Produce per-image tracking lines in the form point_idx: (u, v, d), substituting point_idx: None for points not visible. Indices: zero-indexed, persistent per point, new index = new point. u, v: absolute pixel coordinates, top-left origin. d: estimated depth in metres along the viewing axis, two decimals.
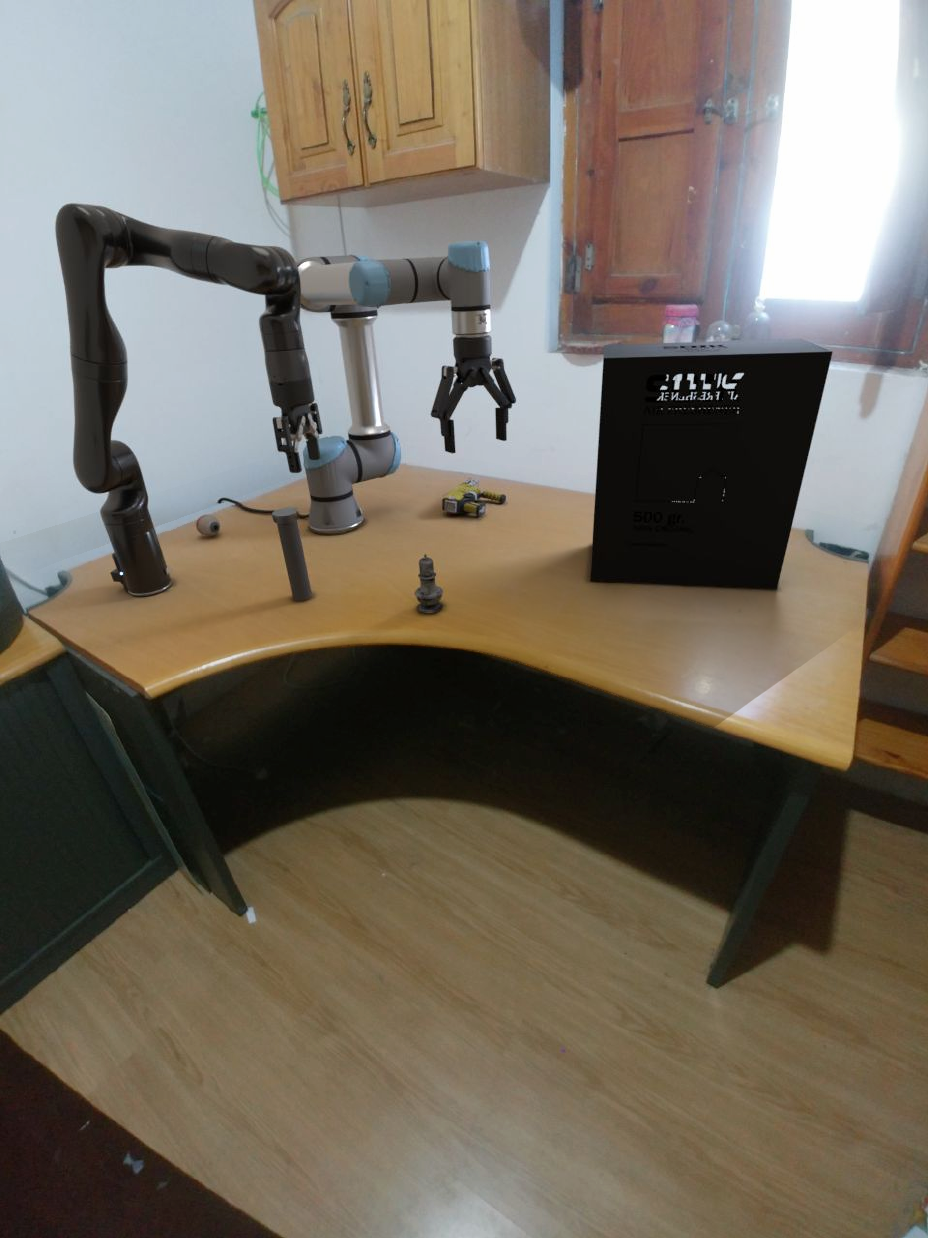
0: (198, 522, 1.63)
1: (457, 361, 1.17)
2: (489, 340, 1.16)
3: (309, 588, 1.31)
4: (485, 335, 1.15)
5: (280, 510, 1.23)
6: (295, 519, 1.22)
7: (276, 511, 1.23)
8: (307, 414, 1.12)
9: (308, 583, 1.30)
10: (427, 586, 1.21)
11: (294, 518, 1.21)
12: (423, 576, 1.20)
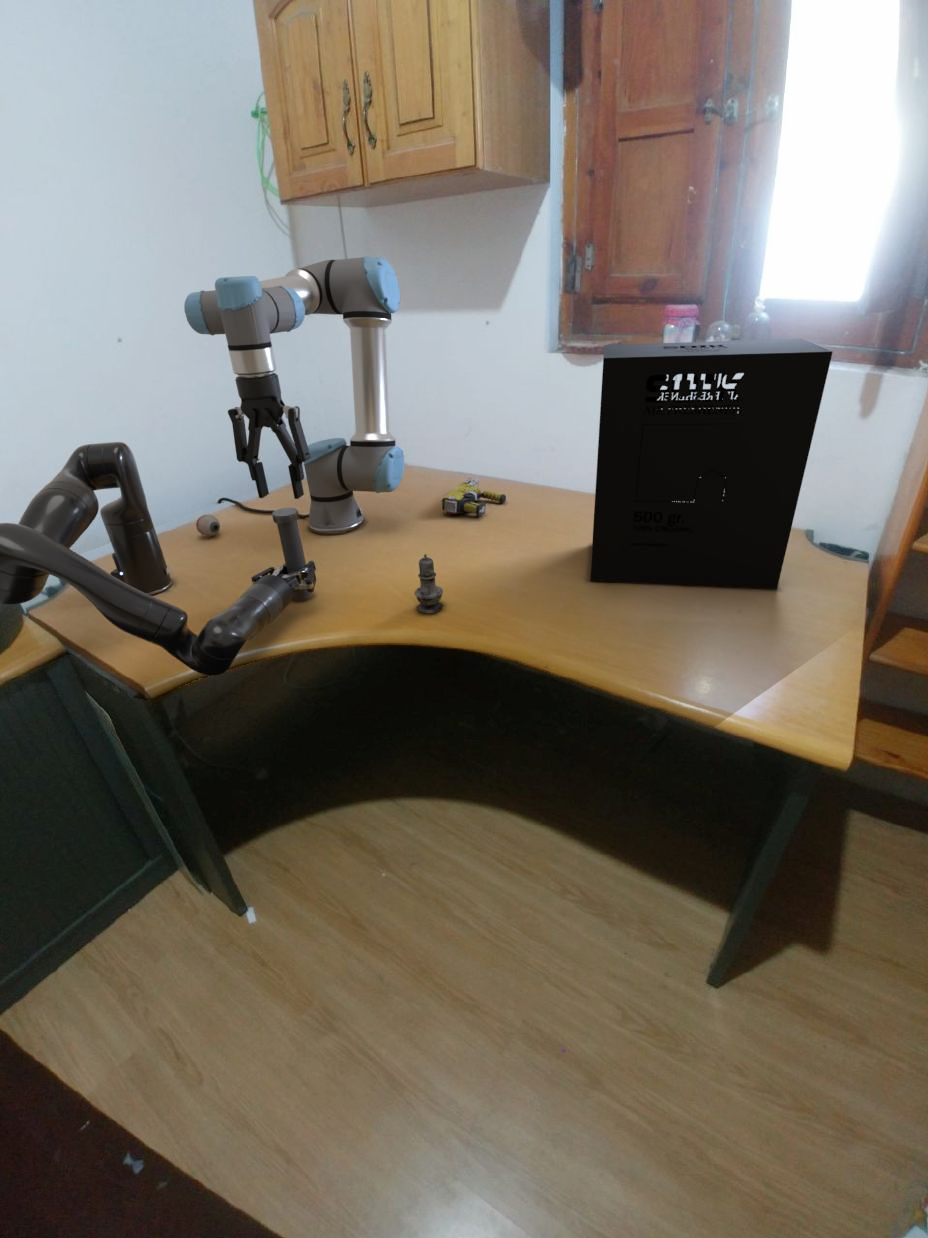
0: (198, 522, 1.63)
1: (279, 398, 1.11)
2: None
3: None
4: None
5: (280, 510, 1.23)
6: (295, 519, 1.22)
7: (276, 511, 1.23)
8: None
9: None
10: (427, 586, 1.21)
11: (294, 518, 1.21)
12: (423, 576, 1.20)
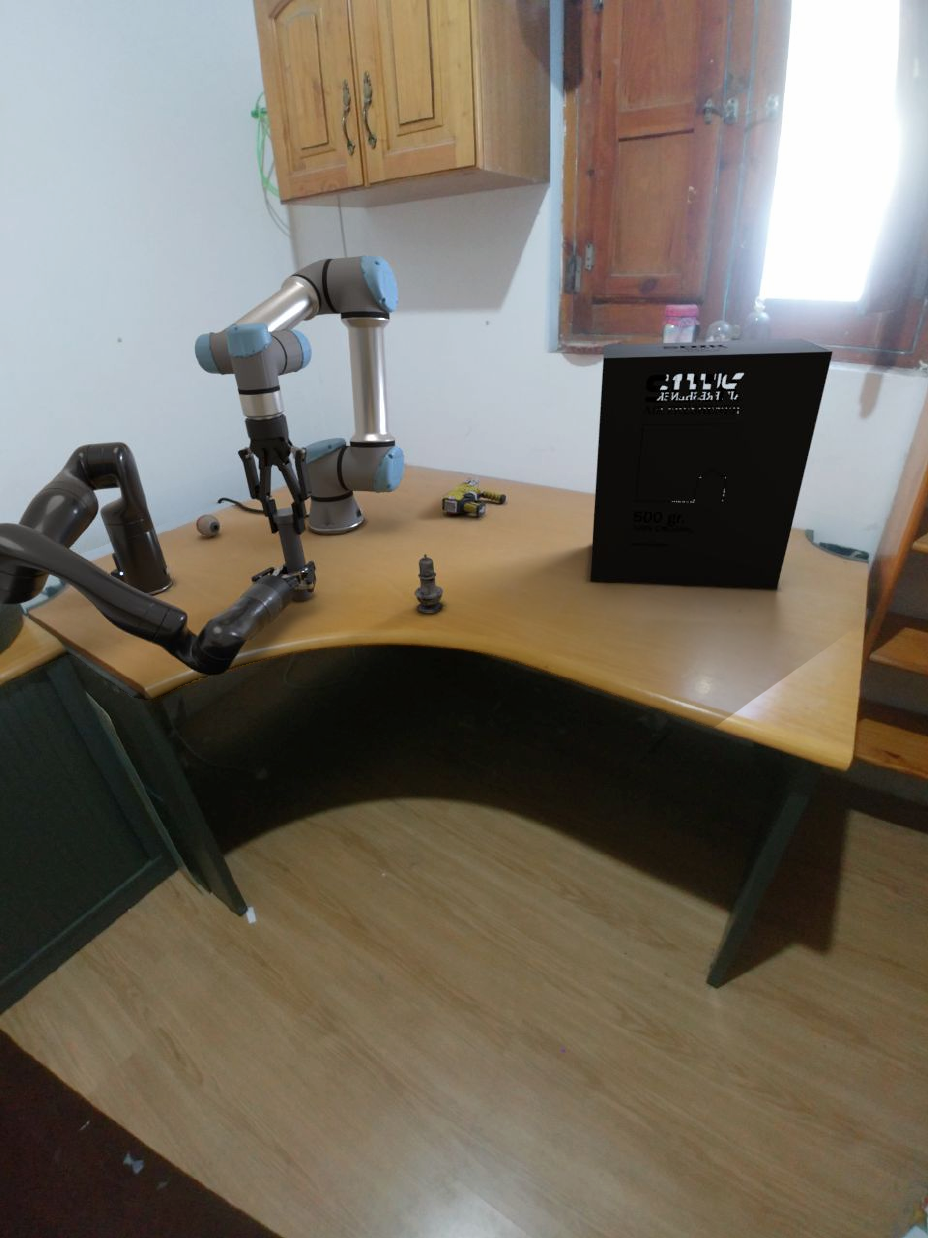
0: (198, 522, 1.63)
1: (287, 438, 1.14)
2: None
3: None
4: None
5: (280, 510, 1.23)
6: None
7: (276, 511, 1.23)
8: None
9: None
10: (427, 586, 1.21)
11: None
12: (423, 576, 1.20)
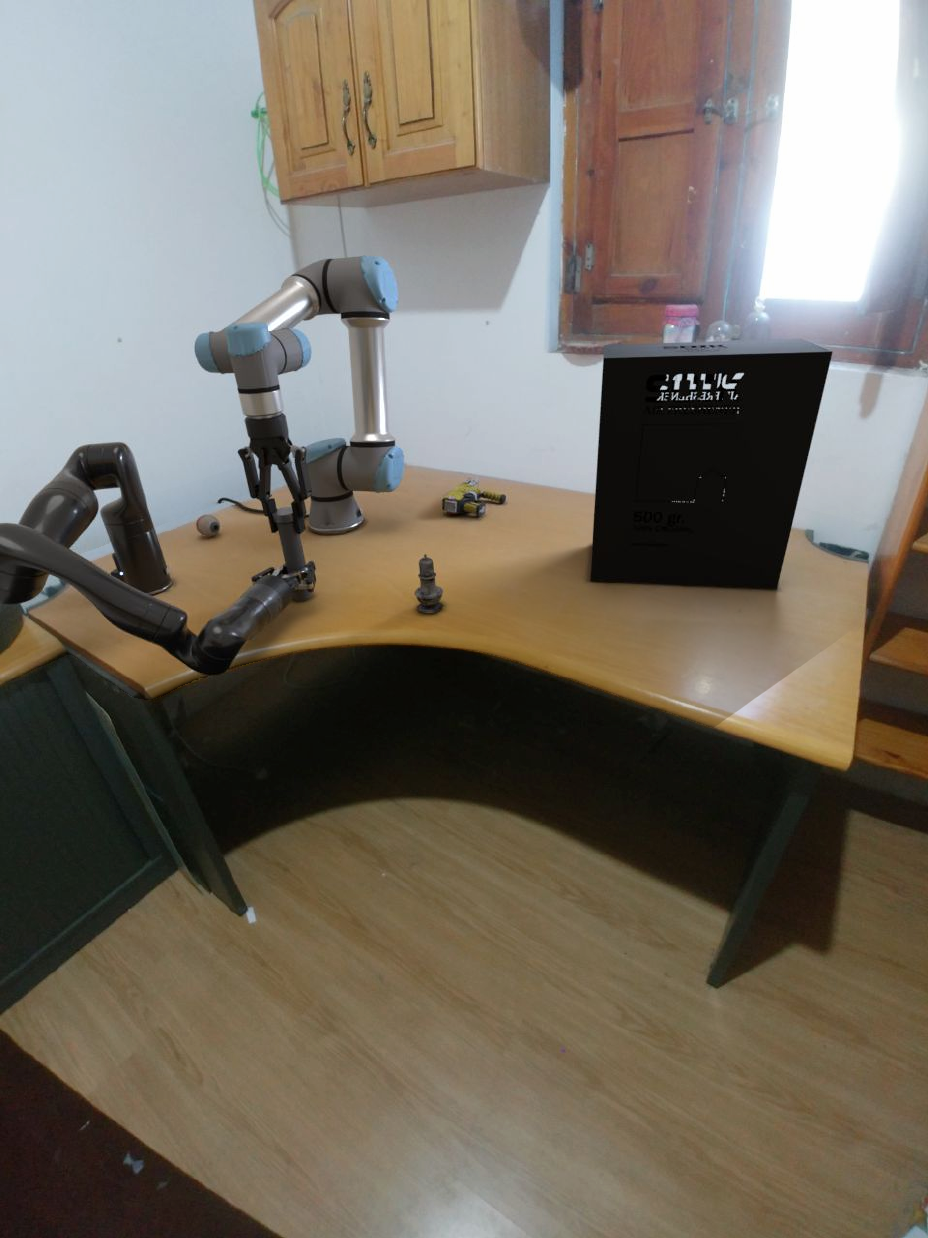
0: (198, 522, 1.63)
1: (287, 437, 1.14)
2: None
3: None
4: None
5: (280, 513, 1.21)
6: None
7: (282, 514, 1.21)
8: None
9: None
10: (427, 586, 1.21)
11: None
12: (423, 576, 1.20)
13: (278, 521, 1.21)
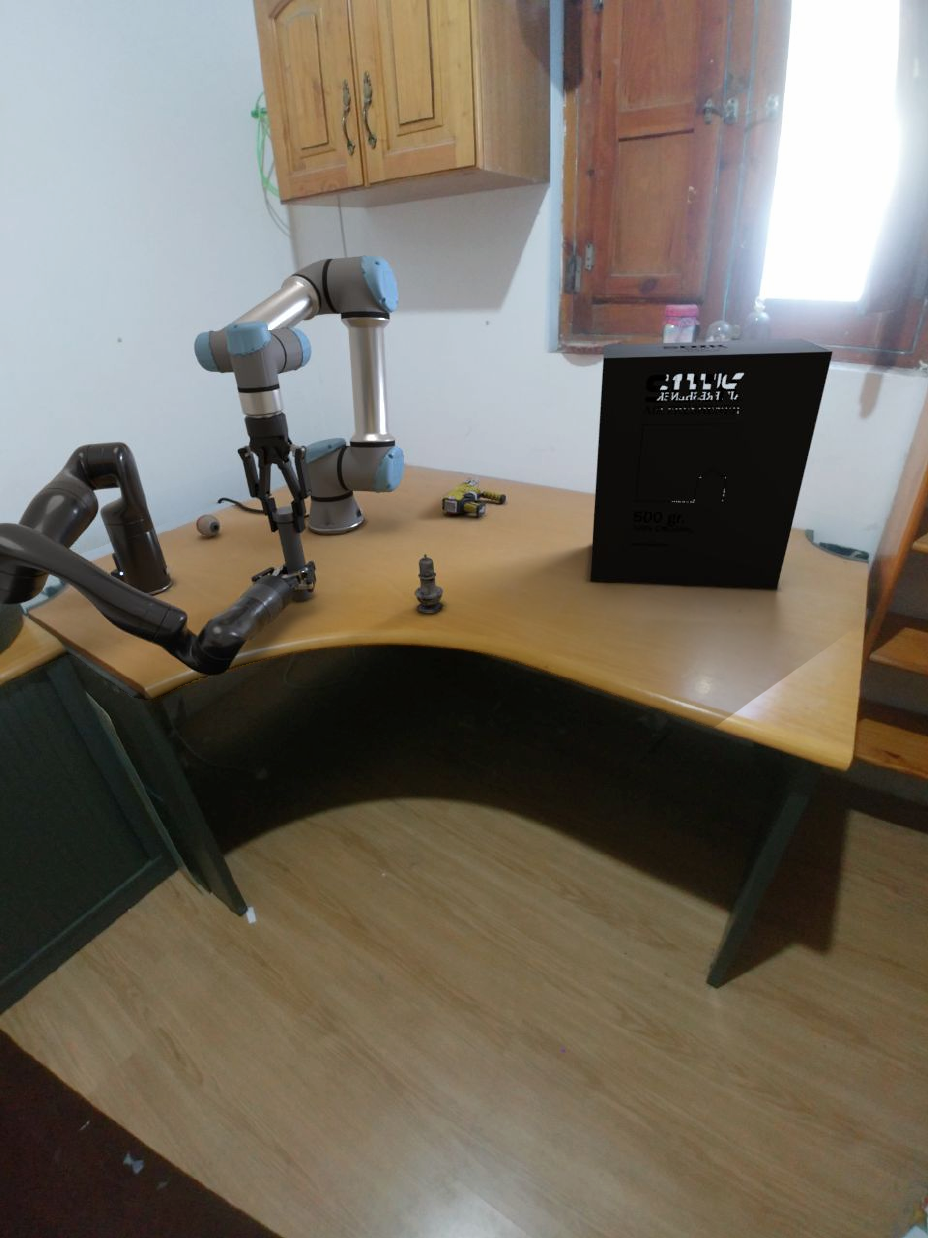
0: (198, 522, 1.63)
1: (287, 437, 1.14)
2: None
3: None
4: None
5: (291, 510, 1.22)
6: None
7: None
8: None
9: None
10: (427, 586, 1.21)
11: None
12: (423, 576, 1.20)
13: None
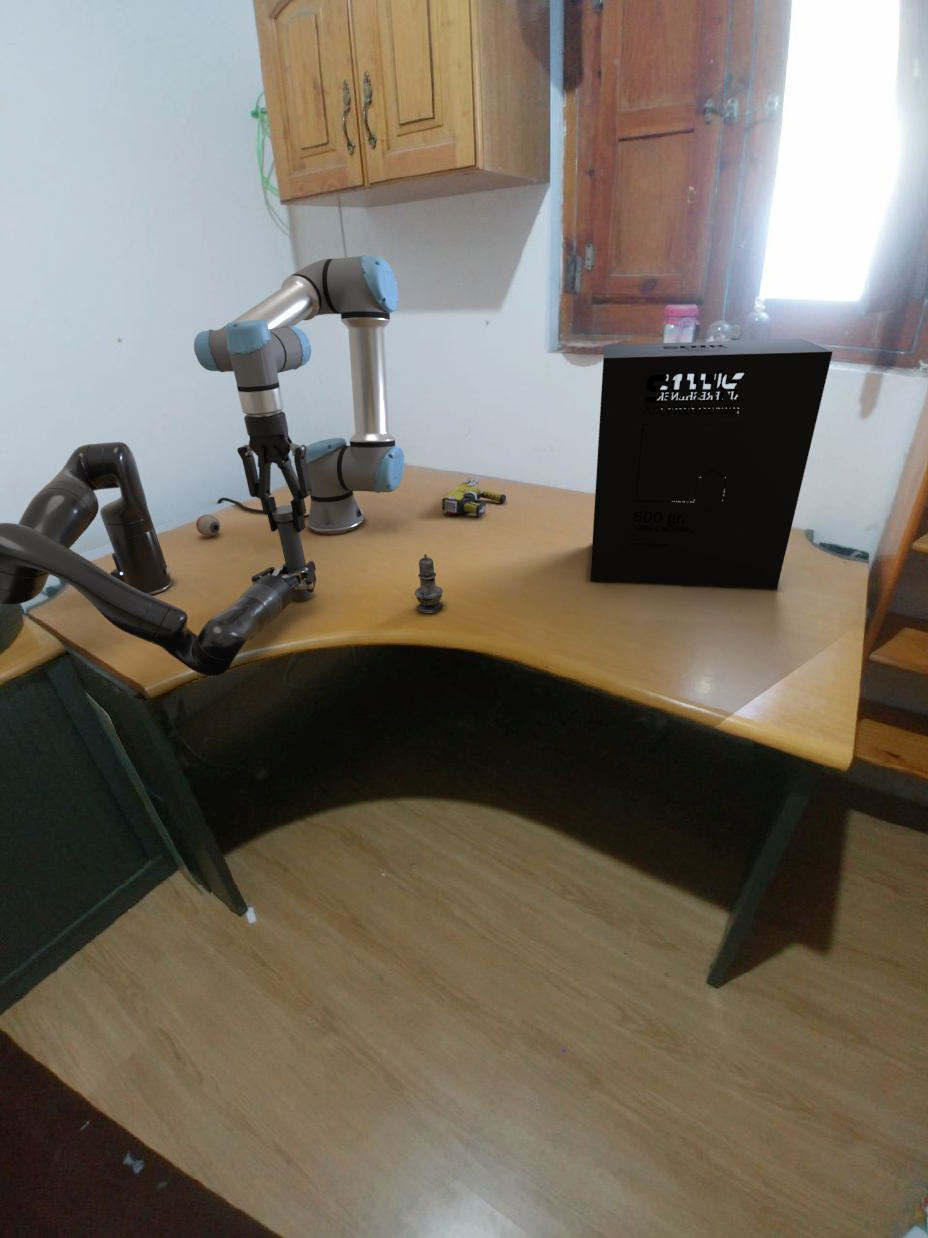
0: (198, 522, 1.63)
1: (287, 436, 1.14)
2: None
3: None
4: None
5: (284, 507, 1.23)
6: (287, 519, 1.21)
7: (280, 507, 1.23)
8: None
9: None
10: (427, 586, 1.21)
11: (284, 518, 1.20)
12: (423, 576, 1.20)
13: None
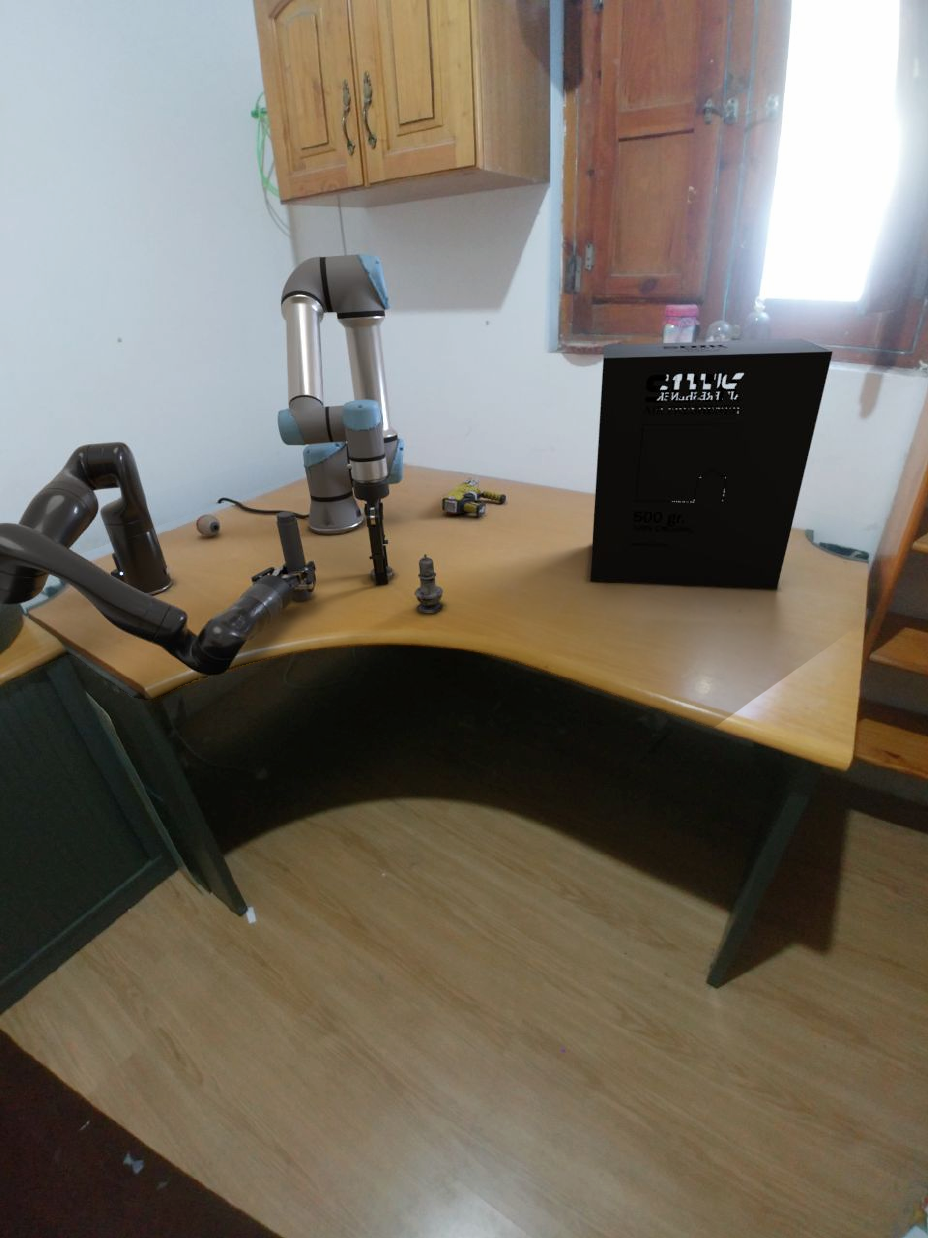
0: (198, 522, 1.63)
1: None
2: (354, 486, 1.26)
3: None
4: (356, 480, 1.26)
5: None
6: None
7: None
8: None
9: None
10: (427, 586, 1.21)
11: None
12: (423, 576, 1.20)
13: (372, 578, 1.38)
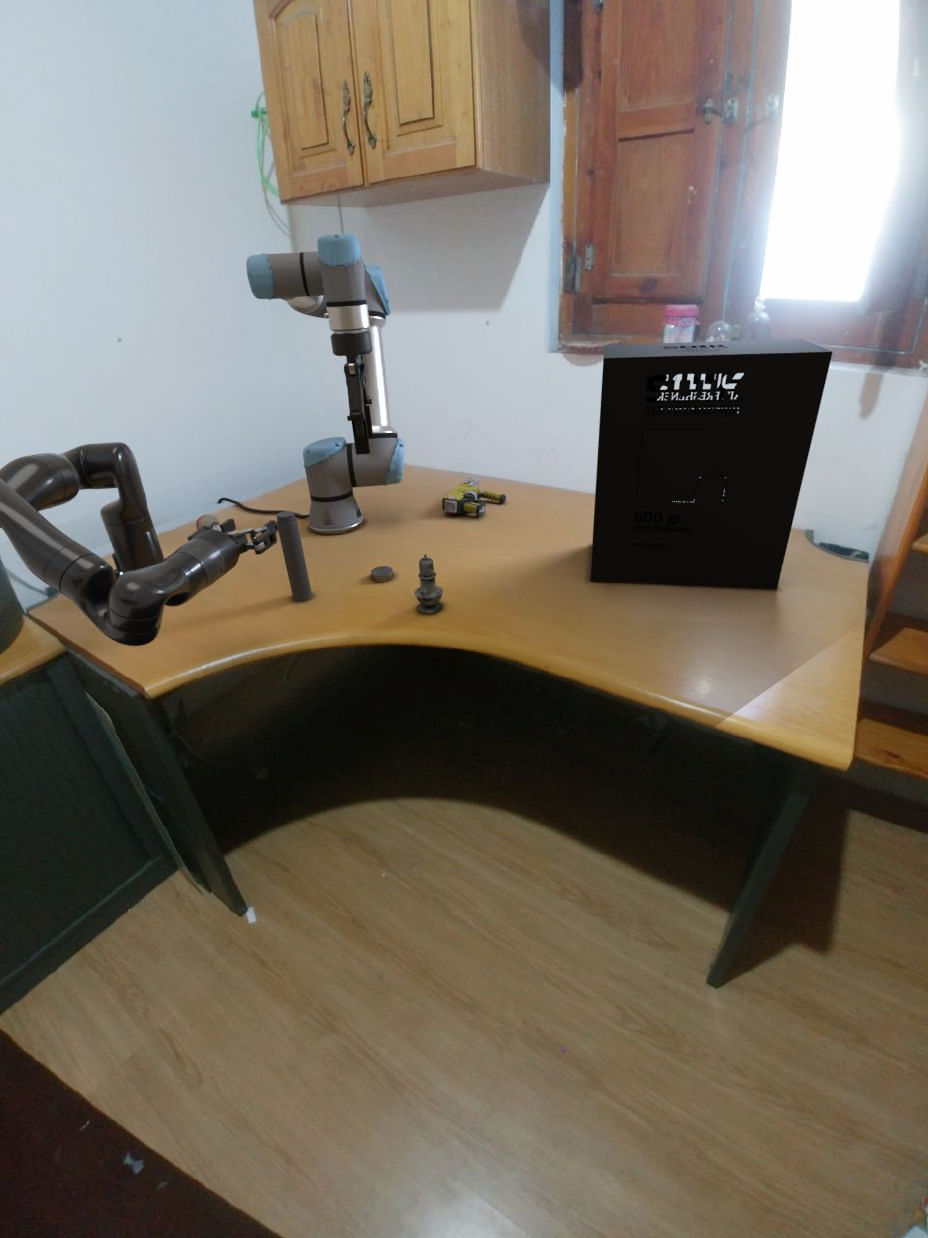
0: (198, 522, 1.63)
1: None
2: (332, 338, 1.12)
3: (309, 588, 1.31)
4: (334, 333, 1.12)
5: (376, 572, 1.37)
6: None
7: (376, 573, 1.37)
8: None
9: (308, 583, 1.30)
10: (427, 586, 1.21)
11: None
12: (423, 576, 1.20)
13: (372, 578, 1.38)
